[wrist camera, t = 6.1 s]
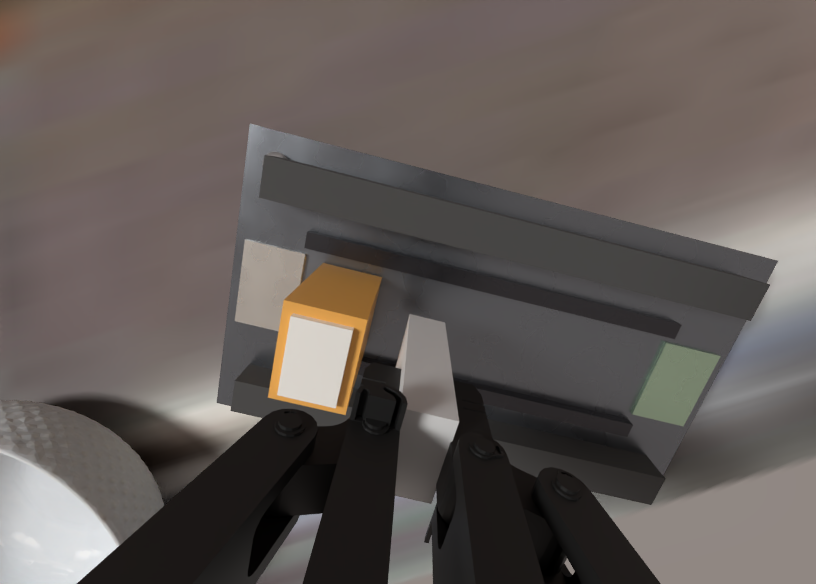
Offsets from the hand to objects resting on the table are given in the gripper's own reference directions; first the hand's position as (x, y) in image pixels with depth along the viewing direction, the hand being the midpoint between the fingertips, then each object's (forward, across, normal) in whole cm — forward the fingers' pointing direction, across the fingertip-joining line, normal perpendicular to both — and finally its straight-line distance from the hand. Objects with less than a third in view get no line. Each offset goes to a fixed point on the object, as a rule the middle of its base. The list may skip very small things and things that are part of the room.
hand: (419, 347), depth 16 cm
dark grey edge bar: (+4, +3, -6) cm, 8 cm away
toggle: (+4, -4, -1) cm, 5 cm away
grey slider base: (+7, +3, -1) cm, 8 cm away
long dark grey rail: (+4, +3, +5) cm, 7 cm away
